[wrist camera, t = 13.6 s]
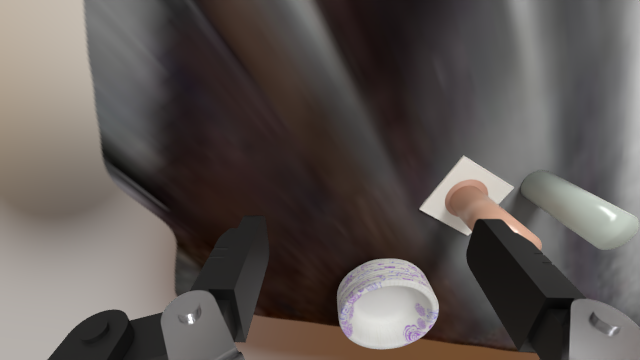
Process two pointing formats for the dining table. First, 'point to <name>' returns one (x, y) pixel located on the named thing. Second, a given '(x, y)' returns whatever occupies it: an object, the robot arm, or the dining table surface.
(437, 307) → the paper bowls
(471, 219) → the terracotta tube
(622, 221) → the grey-green tube
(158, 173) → the dining table surface
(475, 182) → the card
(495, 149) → the dining table surface
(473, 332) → the dining table surface
